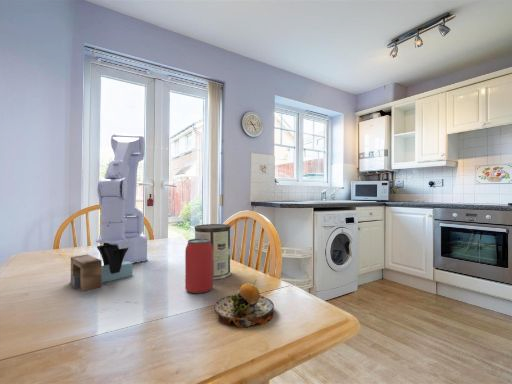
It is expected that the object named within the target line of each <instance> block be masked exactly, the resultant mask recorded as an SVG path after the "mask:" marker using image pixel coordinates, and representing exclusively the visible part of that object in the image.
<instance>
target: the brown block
mask: <svg viewBox="0 0 512 384" xmlns="http://www.w3.org/2000/svg"><path fill="white" fill-rule="evenodd" d="M102 263H103V259H99V258H97V257H94V256H92V255H90V254H82V255H75V256H70V283H71V282H72V276H74V275H79V274H80V270H81V276H80V287H79V288H80V289H79V290H81V291H82V292H86V291H89V290H94V289H97V288H102V283H101V268H102V266H103V265H102Z"/></svg>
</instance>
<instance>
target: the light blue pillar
mask: <svg viewBox="0 0 512 384" xmlns="http://www.w3.org/2000/svg"><path fill="white" fill-rule="evenodd" d="M80 276H81V270H80V274H79V275H74V276H72V283H71V287H72V288H73V289H77V288H80ZM132 276H133V263H131V262H129V261H125V262H122V265H121V269H120V272H118V273H113V274H111V272H110V267H109V265H104V264H103V265H102V268H101V284H102V283H107V282H110V281H115V280H119V279H123V278H128V277H132ZM106 281H107V282H106Z"/></svg>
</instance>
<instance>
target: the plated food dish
mask: <svg viewBox="0 0 512 384" xmlns="http://www.w3.org/2000/svg"><path fill="white" fill-rule="evenodd" d="M256 282H257V280H255V282H254V283H253V284H252V283H244V284H242V285H241V286H240V288H239V290H238V291H237V292H236V293H234V294H232V295H228V296H225V297H222V298H220V299H219V300H218V301H216V302H215V305H214V314H216V315H218V317H219V324H223V326H228V327H230V324H231V321H233V323H234V325H236V327H238V328H240V329H242V328H243V329H244V328H245V327H246V328H247V329H248V328H249V327H250V326H252V325H253V326H255V325H256V324H259V326H261V325H264V324H266V323H267V322H268V321H272V319H273V318H274V316H275V311H274V308H275V307H274V306H275V304H274V302H273V301H272V300H271V299H270V298H269V297H265V296H264V295H261V294H260V291H259V289H258V287H257V286H256V285H255V284H256Z"/></svg>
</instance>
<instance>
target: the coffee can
mask: <svg viewBox="0 0 512 384" xmlns="http://www.w3.org/2000/svg"><path fill="white" fill-rule="evenodd" d="M199 238H204V239H210V240H211V244H212V247H213V281H215V280H222V279H225V278H228V277H229V276H231V225H230V224H225V223H223V224H222V223H208V224H206V223H205V224H199V225H195V226H194V239H199Z"/></svg>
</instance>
